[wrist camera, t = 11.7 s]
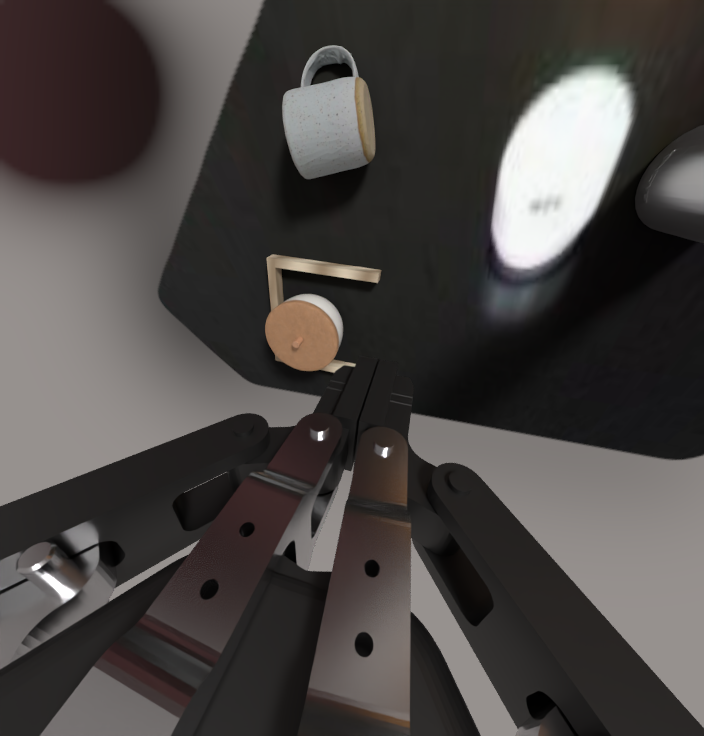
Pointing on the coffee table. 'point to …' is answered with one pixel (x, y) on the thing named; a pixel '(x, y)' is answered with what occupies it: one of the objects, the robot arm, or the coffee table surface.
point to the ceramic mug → (329, 119)
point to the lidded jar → (305, 332)
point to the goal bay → (318, 268)
